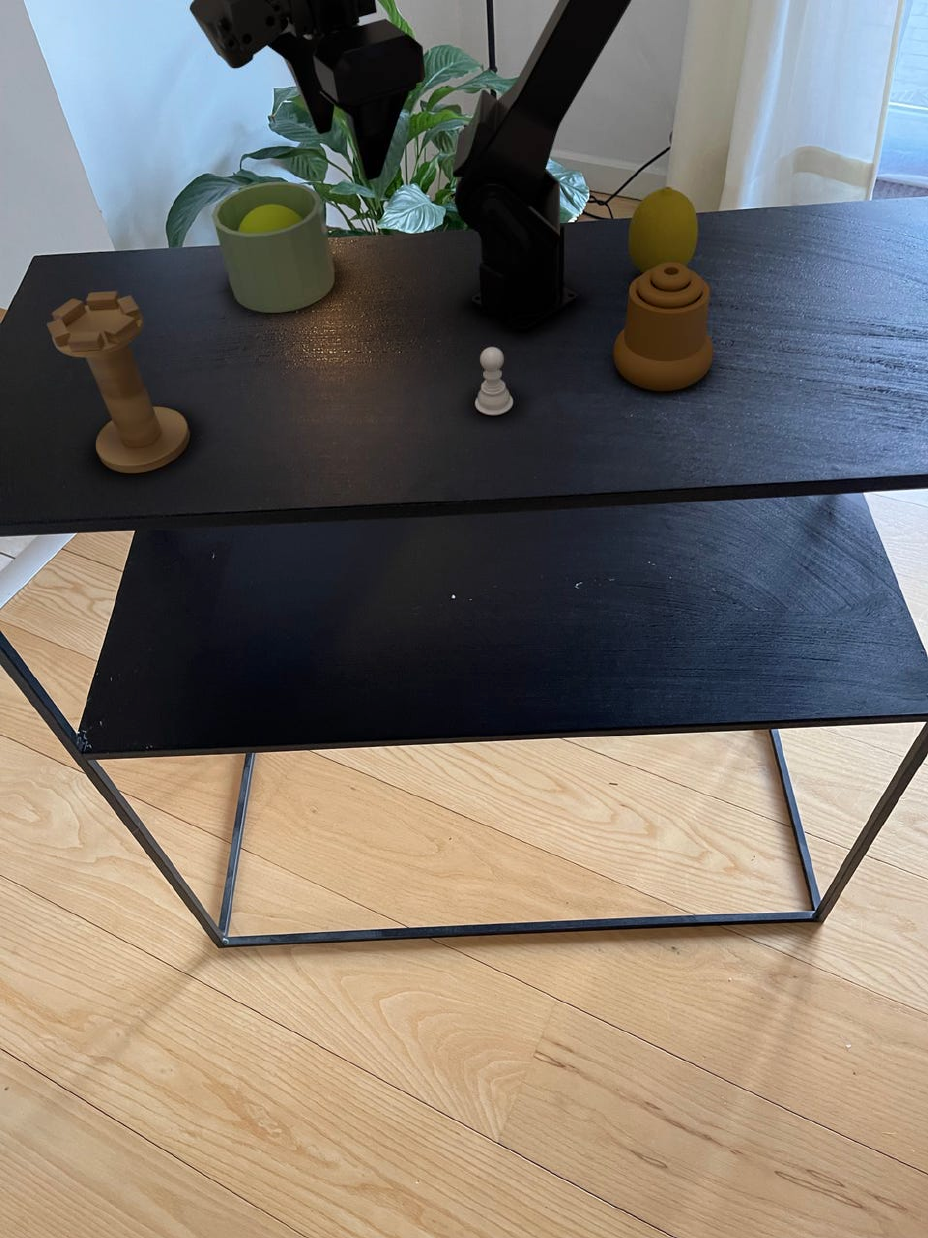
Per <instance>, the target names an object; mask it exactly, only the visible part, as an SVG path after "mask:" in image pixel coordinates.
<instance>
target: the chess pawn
mask: <svg viewBox="0 0 928 1238" xmlns="http://www.w3.org/2000/svg"><path fill="white" fill-rule="evenodd" d="M479 362H480V365H481V367H482V368H483V369H484V370H483V372H482V375H483V378H484V379H485V380H484V382H482V383H481V385H480V390H478V393H477V397H476V398H475V402H474V405H475V408H476V409H477V411H479V412H480V413H482V414H484V415H486V416H500V415H502V414H505V413H507V412H508V411H509V410H511V409H512V407H513V405H514V399H513V397H512V396H511V393H510V391H509V389H508V388H507V387H506V382H504V381H503V380H502V379H501V377H502V376H503V372H502V370H501V369H502V366H503V365H504V362H505V356H504V354H503V352H502V351H501V349H500V348H498V347H495V346H488V347H487V348H485V349H484V350H482V351H481V354H480V355H479Z"/></svg>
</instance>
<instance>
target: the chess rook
mask: <svg viewBox="0 0 928 1238" xmlns="http://www.w3.org/2000/svg"><path fill="white" fill-rule="evenodd" d="M85 302H86V304H87V305H86V304H84V301H82V300H79V299H76V298H74V297H72V298H71V299H69V300H68V301H67V302H65V303H63V304H62V305H61V306H59V307H58V308H57V309H55V310H54V311H53V312H51V315H52V317H53V320H52V321H50V322H47V323H46V326H47V328H48V330H49V332H50V335H51V338H52V342H53V344H54V346H55V348H56V349H57V350H58V351H59V352H60V353H62V354H64V355H67V356H70V357H76V358H85V359H86V362H87V364H88V366H89V369H90V371H91V374H92V376H93V378H94V380H95V383H96V385H97V388H98V389H99V390H98V391H99V392H100V395H101V397H102V399H103V401H104V404H105V407H106V409H107V411H108V413H109V415H110V418H111V420H110V421H109V422H108V423H106V424H105V425H104V427H103V428H102V429H100V431H99V433H98V435H97V437H96V440H95V449H96V453H97V455H98V457H99V459H100V461H101V462H102V464H104V465H105V466H106V467H107V468H109V469H110V470H112V471H115V472H118V473H123V474H139V473H147V472H150V471H154V470H157V469H160V468H162V467H164V466H166V465H168V464H170V463H172V462H173V461H174V460H176V459H177V458H178V457H180V455H181V454H182V453H183V452H184V451H185V449H186V448H187V446H188V445H189V442H190V437H191V431H190V428H189V425H188V423H187V421H186V418H184V416H183V415H182V414H181V413H180V412H178V411H176V410H175V409H172V408H169V407H163V406H153V403H152V401H151V399H150V395H149V393H148V390H147V388H146V386H145V383H144V380H143V378H142V375H141V373H140V369H139V367H138V365H137V362H136V358H135V357H134V353H133V352H132V350H131V346H130V344H131V343H132V342H134V341H135V340H136V339H137V338H138V336H140V334H141V333H142V332H143V331H142V330H143V328H144V325H145V324H144V323H145V322H144V318H143V314H142V312H141V310H140V308H139V305H138V304H137V303H136V301H135V299H134V298H133V297H132V295H131V294H130V295H126V296H123V297H121V296H120V294H119V292H118V290H112V291H98V292H97V291H96V292H94V291H93V292H89V293H88V295H87V297H86V300H85Z"/></svg>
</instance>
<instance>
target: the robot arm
mask: <svg viewBox="0 0 928 1238" xmlns="http://www.w3.org/2000/svg"><path fill="white" fill-rule="evenodd" d="M631 2H632V0H558V2H557V3H556V5H555V7H554V9H553V11H552V13H551V15H550V17H549V18H548V20H547V22H546V24H545V26H544V28H543V30H542V32H541V33H540V35H539V38H538V40H537V41H536V43H535V45H534V48H533V49H532V51H531V52H530V55H529V56H528V59H527V60H526V62H525V64H524V66H523V68H522V70H521V72H520V74H519V75H518V77H517V78H516V80H515V81H514V83H513V84H512V86H510V87H509V88H508V89H507V90H506V91H505V92H504V93H503V94H502V95H501V96H500V97H499V98H498V99H497V97H494V96H493V95H492V94H491V93H490V92H488V91H487V90H486V89H481V92H480V94H479V97H478V100H477V103H476V107H475V109H474V113H473V116H472V118H471V119H470V121H469V122H468V123H467V125H466V126H465V127H464V128H463V129H461V130H460V131H459V132H458V135H457V142H456V149H455V155H454V161H453V169H452V176H453V178H456V184H455V191H454V205H455V207H456V210H457V214H458V215H459V218H461V220H462V221H463V223H464V224H465V225H466V226H467V227H468V228H470V229H471V230H473V231H474V232H476V233H477V234H478V236H479V238H480V239H481V240H480V250H481V251H480V252H481V261H480V262H479V264H478V273H479V287H480V291H479V293H477V294H475V295H473V296H472V297H471V305H473V306H474V307H476V308H477V309H479V310H480V311H482V312H484V313H486V314H488V315H490V316H491V317H494V318H495V319H497V320H498V321H501V323H504V324H506V325H508V326H510V327H511V328H513V329H515V330H516V331H519V332H522V333H527V332H528V331H531V330H532V329H533V328H535V327H537V326H538V325H540V324H542V323H544V322H545V321H547V320H548V319H550V318H551V317H553V316H555V315H557V314H558V313H560V312H562V311H563V310H565V309H567V308H569V307H570V306H572V305H573V304H575V303H576V302H578V294H577V293H576V292H574V291H572V290H571V289H568V288H566V287H565V285H564V284H565V223H562V222H561V182H560V180H559V179H557V178H556V176H554V175H553V173H551V172H550V171H549V170H548V169H547V167H548V163H549V159H550V157H551V153H552V149H553V146H554V143H555V139H556V136H557V133H558V131H559V128H560V125H561V124H562V122H563V120H564V118H565V116H566V114H567V113H568V111H569V109H570V107H571V106H572V104H573V102H574V101H575V99H576V98H577V96H578V94H579V92H580V90H581V89H582V87H583V86H584V83H585V82H586V80H587V78H588V77H589V75H590V74H591V71H592V70H593V68H594V67H595V65H596V63H597V61H598V59H599V57H600V56H601V54H602V52H603V50H604V49H605V47H606V45H607V44H608V42H609V40H610V38H611V37H612V35H613V33H614V32H615V30H616V28H617V26H618V25H619V23H620V21H621V19H622V18H623V16H624V14H625V13H626V11H627V10H628V7H629V6H630V4H631ZM189 12H190V13H191V14H192V16H193V18H194V20H195V21H196V23H197V24H198V25H199V27H200V29H201V30H202V32H203V33H204V36H205V37H206V38H207V40H208V42H209V43H210V45H211V47H212V48H213V50H214V51H215V53H216V54H217V56H219V57H221V58H222V59H223V60H224V61H225V63H226V64H227V66H228V67H230V68H231V69H234V70H235V69H241V68H243V67H245V66H246V65H248V64H250V62H252V61H253V60H254V55H256V54H258V53H259V52H261V50H263V49H264V48H266V47H268V48H270V49H271V50H272V51H274V52H275V53H276V54H278V55H279V56H280V57H282V58H283V60H284V62H285V65H286V67H287V68H288V70H289V73H290V75H291V77H292V79H293V82H294V84H295V86H296V89H297V90H298V93H299V96H300V97H301V100H302V102H303V104H304V106H305V109H306V111H307V114H308V116H309V118H310V120H311V122H312V124H313V127H314V130H315V132H316V133H317V134H318V135H323V134H327V133H329V132H331V131H332V128H333V122H334V121H333V120H334V113H335V107H336V108H337V109H338V110H341V111H343V113H344V117H345V120H346V123H347V127H348V130H349V133H350V136H351V139H352V143H353V146H354V150H355V153H356V156H357V159H358V163H359V165H360V169H361V171H362V174H363V178H364V179H366V180H367V181H372V180H376V179H378V178H380V177H381V175H382V172H383V169H384V165H385V163H386V159H387V156H388V153H389V150H390V147H391V144H392V140H393V138H394V134H395V131H396V128H397V125H398V122H399V119H400V116H401V115H402V111H403V109H404V106H405V105H406V101H407V99H408V97H409V94H410V92H411V91H412V92H413V91H414V90H416V89H417V85H418V84H421V83H423V81H424V80H425V79H426V77H427V76H426V67H425V56H424V55H425V54H424V47H423V45H422V44H421V43H420V42H418V41H417V40H416V39H414V37H413V36H411V35H410V34H408V33H407V32H406V31H404V30H403V29H401V28H400V27H399V26H398V25H396V24H394V23H392V22H391V21H390V20H389V19H387V18H383V19H379V20H376V21H371V22H367V23H365V24H361V25H360V18H362V17H366V16H370V15H374V14H377V13H378V9H377V2H376V0H192V2H191V3H190V5H189Z"/></svg>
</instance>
